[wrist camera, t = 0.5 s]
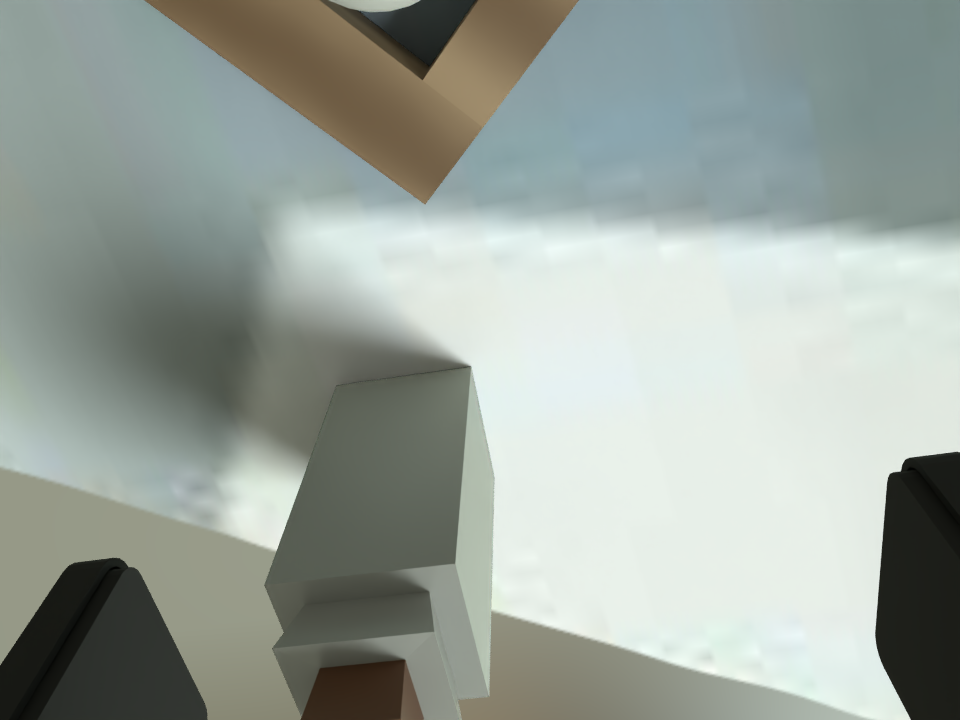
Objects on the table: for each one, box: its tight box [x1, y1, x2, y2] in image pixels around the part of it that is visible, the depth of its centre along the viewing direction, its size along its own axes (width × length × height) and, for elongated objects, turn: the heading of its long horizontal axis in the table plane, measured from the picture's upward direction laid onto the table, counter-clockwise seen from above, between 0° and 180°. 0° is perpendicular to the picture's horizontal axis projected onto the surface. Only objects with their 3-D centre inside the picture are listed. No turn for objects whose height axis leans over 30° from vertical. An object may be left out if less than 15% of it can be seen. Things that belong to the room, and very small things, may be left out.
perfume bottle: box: [265, 367, 494, 720], centre depth 33 cm, size 7×7×18 cm
